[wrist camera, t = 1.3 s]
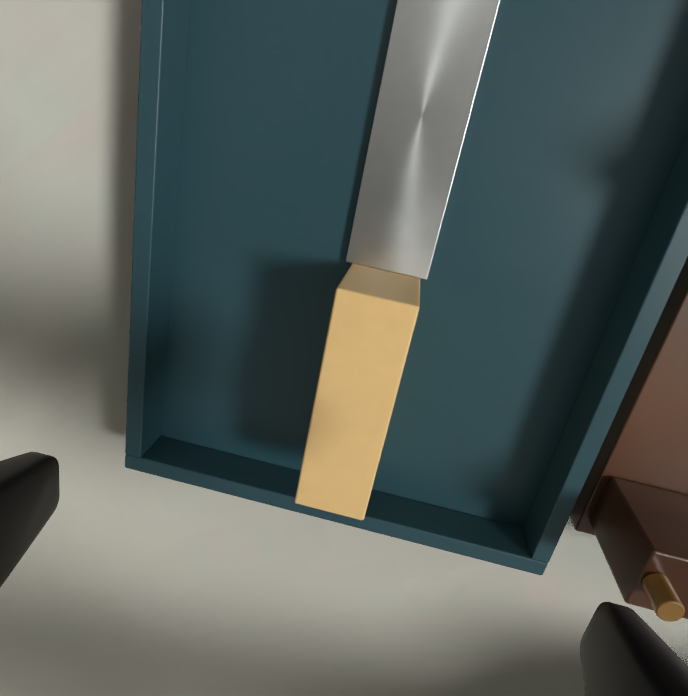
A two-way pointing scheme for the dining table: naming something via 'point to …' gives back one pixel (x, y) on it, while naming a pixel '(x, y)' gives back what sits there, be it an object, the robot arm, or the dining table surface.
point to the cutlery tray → (435, 293)
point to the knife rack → (647, 473)
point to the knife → (392, 242)
